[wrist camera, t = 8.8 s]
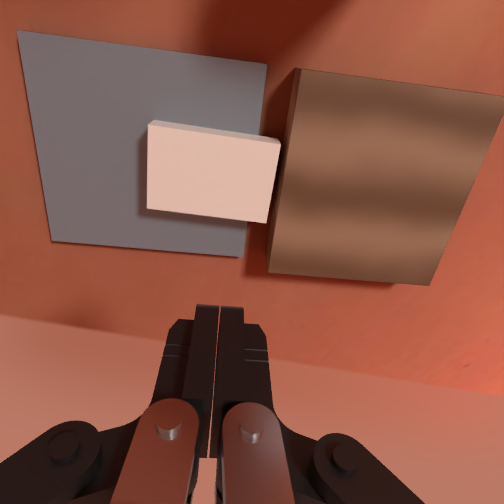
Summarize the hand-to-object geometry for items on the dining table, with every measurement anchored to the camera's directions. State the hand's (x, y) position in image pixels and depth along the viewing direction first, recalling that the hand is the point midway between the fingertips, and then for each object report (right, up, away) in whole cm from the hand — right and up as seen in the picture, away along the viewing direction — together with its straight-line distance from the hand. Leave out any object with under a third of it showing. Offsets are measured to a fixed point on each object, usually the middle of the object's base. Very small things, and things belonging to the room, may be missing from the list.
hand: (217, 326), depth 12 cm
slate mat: (-7, +10, +16) cm, 20 cm away
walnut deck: (+10, +8, +17) cm, 22 cm away
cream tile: (-2, +9, +16) cm, 18 cm away
